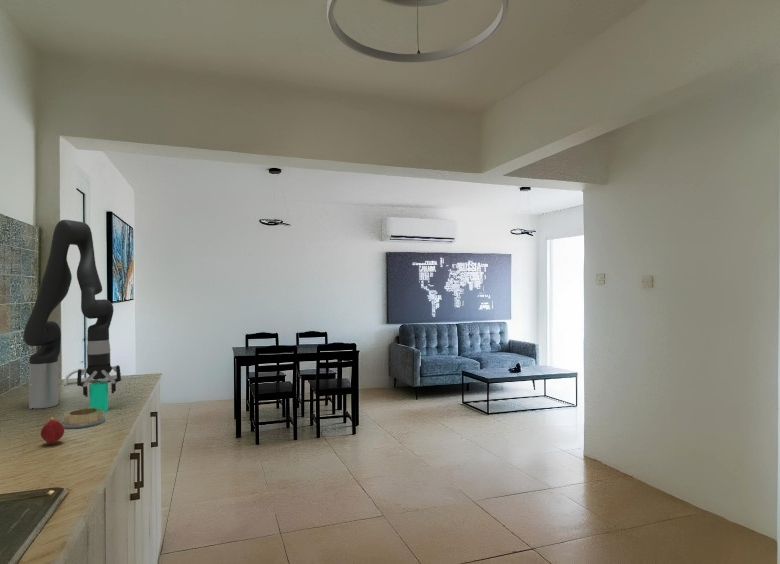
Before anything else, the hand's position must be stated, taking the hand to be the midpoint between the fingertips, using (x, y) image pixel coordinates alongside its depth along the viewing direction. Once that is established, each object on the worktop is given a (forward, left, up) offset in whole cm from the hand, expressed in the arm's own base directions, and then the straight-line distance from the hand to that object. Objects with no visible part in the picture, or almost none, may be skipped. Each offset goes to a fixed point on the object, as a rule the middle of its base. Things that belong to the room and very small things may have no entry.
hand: (99, 394), depth 185 cm
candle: (0, 0, -6) cm, 6 cm away
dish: (-5, -16, -6) cm, 18 cm away
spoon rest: (-1, +62, -7) cm, 62 cm away
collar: (-5, -16, -6) cm, 18 cm away
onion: (-13, -36, -6) cm, 39 cm away
